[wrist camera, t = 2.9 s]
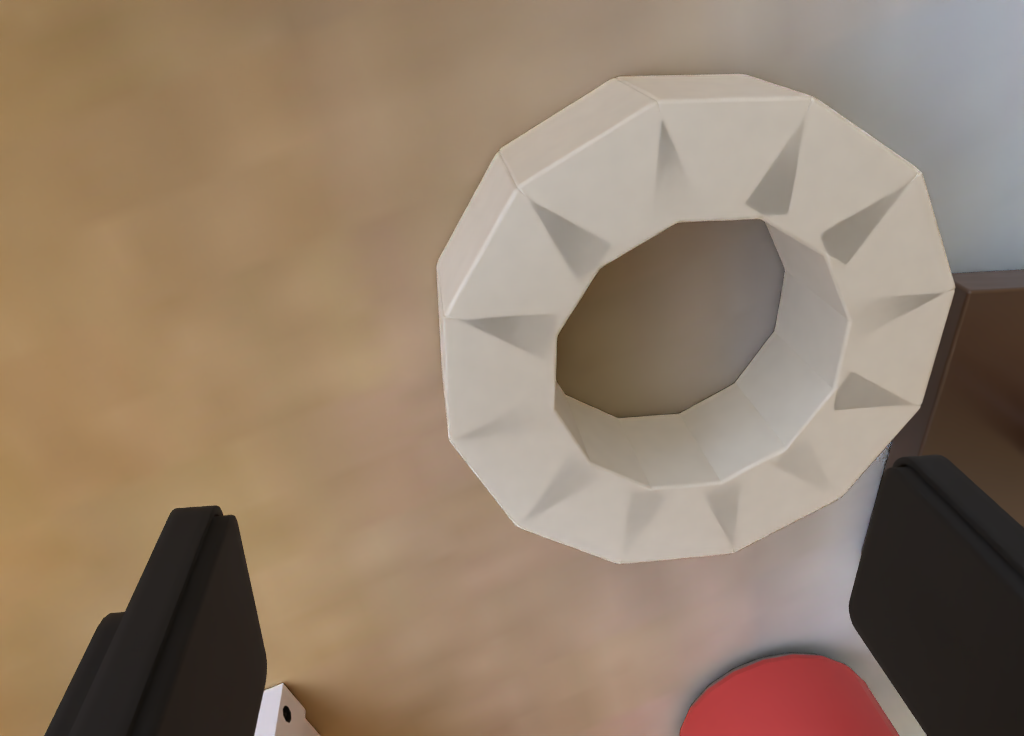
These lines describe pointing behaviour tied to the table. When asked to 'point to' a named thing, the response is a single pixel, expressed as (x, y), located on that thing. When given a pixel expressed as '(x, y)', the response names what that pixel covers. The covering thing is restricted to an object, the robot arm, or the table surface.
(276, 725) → the walkman
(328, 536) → the table surface
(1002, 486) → the spindle
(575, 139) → the tape roll
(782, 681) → the beer can
